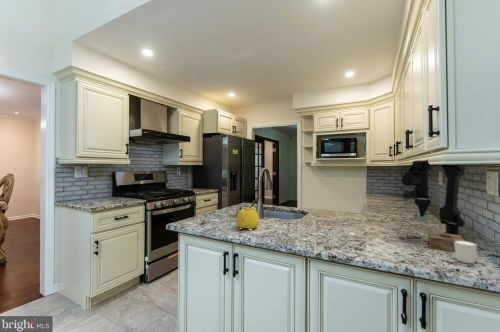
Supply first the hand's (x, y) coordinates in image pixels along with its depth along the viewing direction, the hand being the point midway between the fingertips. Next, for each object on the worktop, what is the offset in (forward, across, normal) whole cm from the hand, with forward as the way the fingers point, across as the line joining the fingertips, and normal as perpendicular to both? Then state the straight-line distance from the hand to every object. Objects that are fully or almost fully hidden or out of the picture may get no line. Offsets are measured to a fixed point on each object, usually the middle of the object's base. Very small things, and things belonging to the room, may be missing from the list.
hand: (421, 216), depth 121 cm
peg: (+2, 0, 0) cm, 3 cm away
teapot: (+12, +24, -89) cm, 93 cm away
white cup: (+13, +22, +13) cm, 28 cm away
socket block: (+12, +6, +9) cm, 16 cm away
